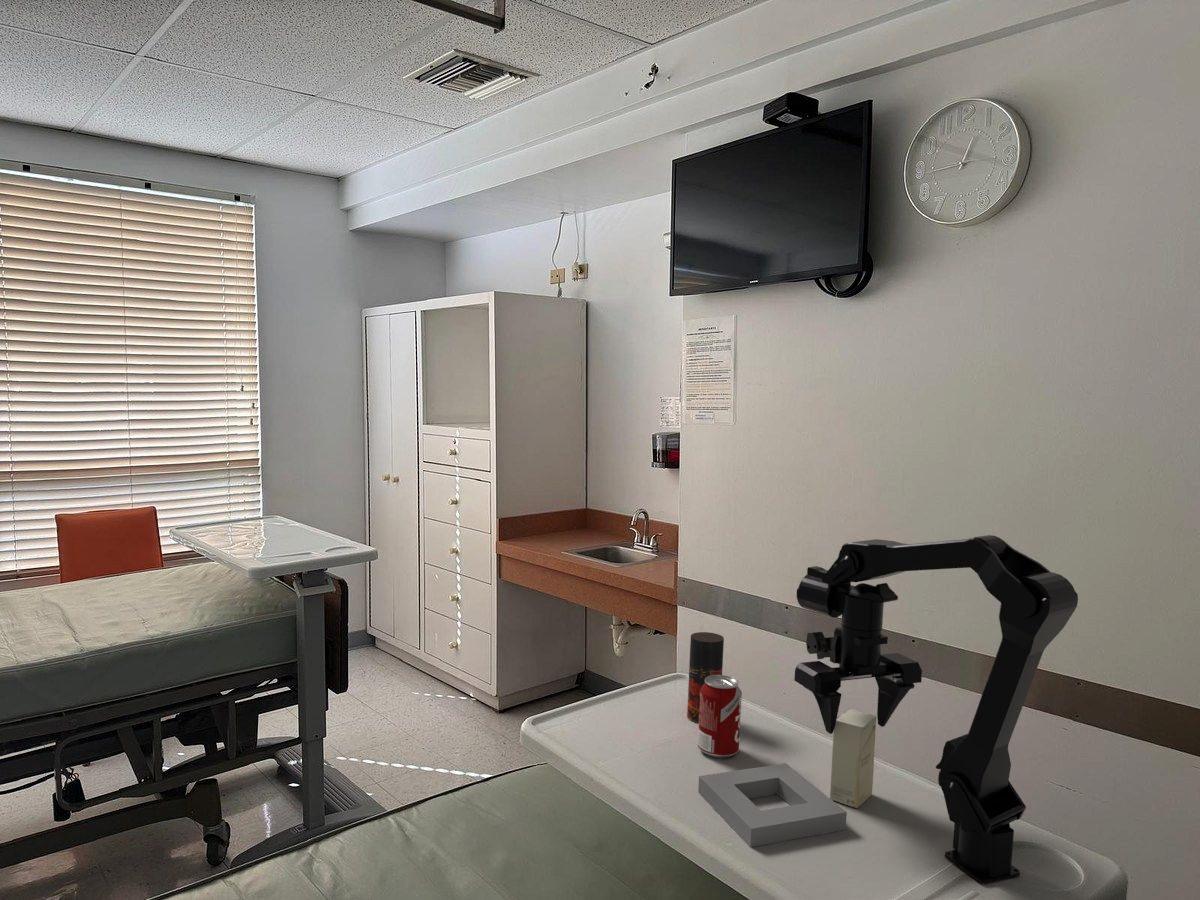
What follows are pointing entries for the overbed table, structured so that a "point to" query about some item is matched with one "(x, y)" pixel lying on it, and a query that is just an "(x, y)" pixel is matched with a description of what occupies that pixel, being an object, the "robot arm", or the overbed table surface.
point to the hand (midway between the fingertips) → (855, 729)
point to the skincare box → (853, 758)
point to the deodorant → (702, 667)
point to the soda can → (719, 716)
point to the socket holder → (777, 824)
